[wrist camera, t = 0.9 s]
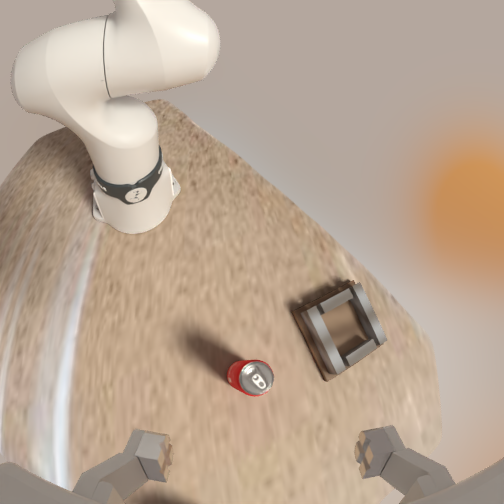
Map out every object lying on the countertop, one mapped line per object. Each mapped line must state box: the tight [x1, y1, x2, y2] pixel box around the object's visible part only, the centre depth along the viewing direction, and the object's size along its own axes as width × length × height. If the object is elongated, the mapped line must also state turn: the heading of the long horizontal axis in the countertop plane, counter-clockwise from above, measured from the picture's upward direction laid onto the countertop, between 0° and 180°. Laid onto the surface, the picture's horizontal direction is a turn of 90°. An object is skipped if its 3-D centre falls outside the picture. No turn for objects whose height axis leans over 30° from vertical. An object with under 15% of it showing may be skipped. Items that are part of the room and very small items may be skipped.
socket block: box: [292, 280, 387, 382], centre depth 52 cm, size 15×15×4 cm
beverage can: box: [227, 360, 274, 396], centre depth 41 cm, size 5×5×12 cm
